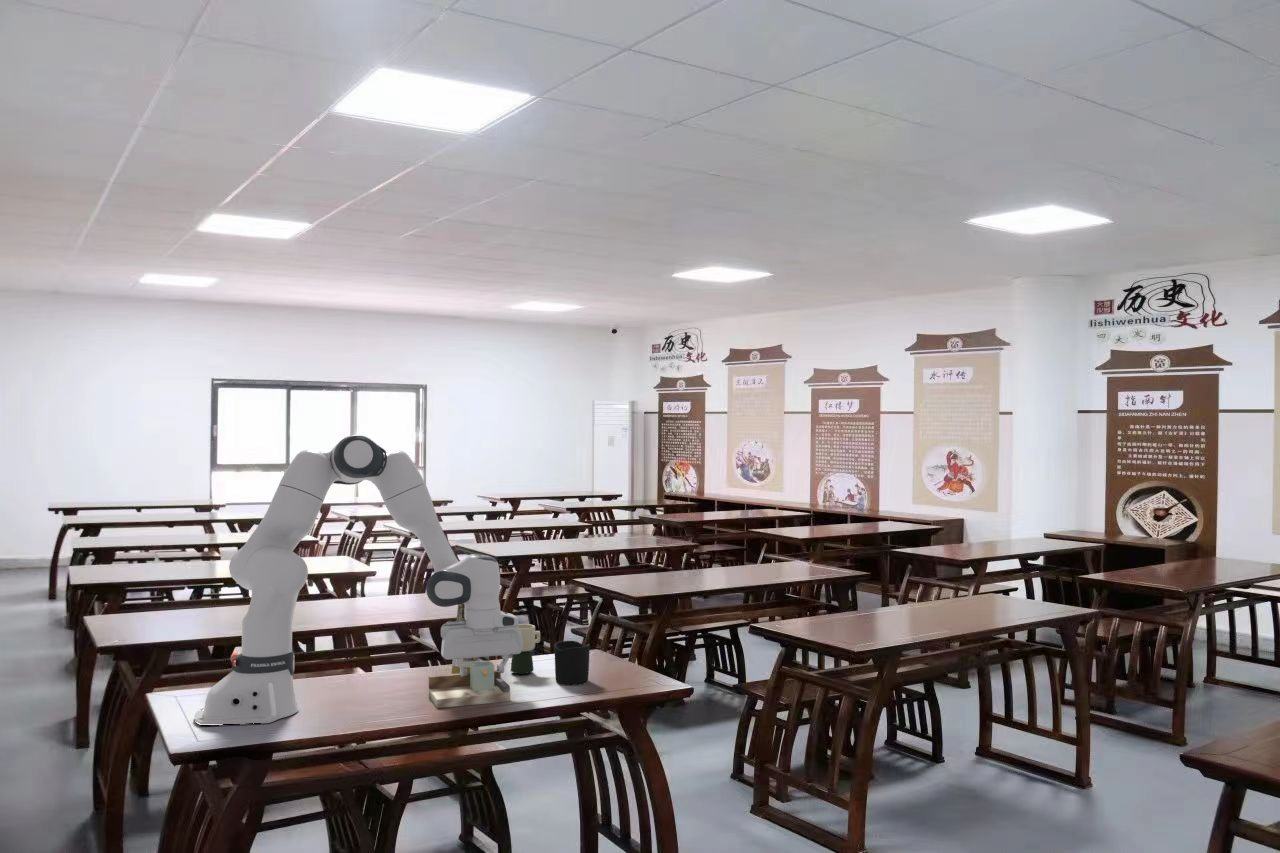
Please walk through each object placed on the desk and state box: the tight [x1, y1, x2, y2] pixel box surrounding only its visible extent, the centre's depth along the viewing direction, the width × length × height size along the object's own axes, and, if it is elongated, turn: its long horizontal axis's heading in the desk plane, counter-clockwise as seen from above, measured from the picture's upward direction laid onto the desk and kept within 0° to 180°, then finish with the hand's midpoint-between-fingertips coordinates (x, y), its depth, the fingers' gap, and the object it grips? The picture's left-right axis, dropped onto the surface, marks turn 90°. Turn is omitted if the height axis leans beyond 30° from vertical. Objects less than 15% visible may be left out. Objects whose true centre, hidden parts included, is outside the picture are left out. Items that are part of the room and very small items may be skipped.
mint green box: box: [470, 660, 495, 691], centre depth 242 cm, size 5×6×6 cm
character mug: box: [510, 623, 541, 675], centre depth 267 cm, size 11×7×13 cm, turn 121°
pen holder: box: [553, 640, 591, 686], centre depth 258 cm, size 9×9×10 cm
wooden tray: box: [428, 669, 511, 709], centre depth 240 cm, size 18×12×5 cm, turn 112°
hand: (482, 674), depth 243 cm, fingers open, 8 cm apart
